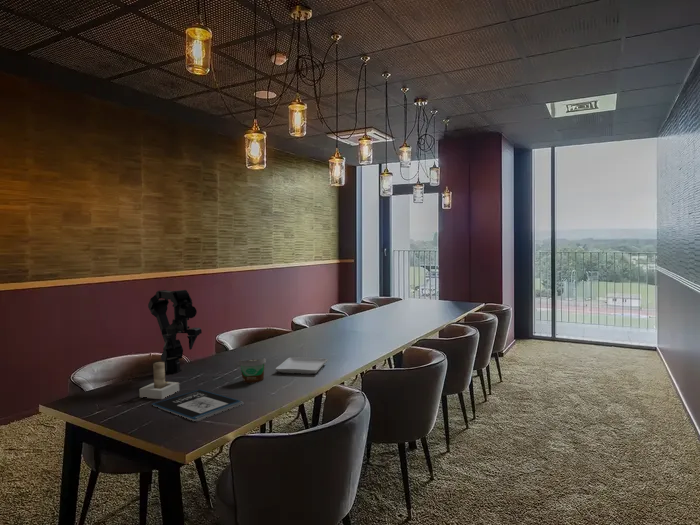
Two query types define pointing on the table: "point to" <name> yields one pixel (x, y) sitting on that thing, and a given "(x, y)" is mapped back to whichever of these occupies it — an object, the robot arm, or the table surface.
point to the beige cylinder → (159, 375)
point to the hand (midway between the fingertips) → (182, 349)
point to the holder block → (159, 390)
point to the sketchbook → (197, 404)
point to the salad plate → (301, 365)
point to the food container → (252, 370)
